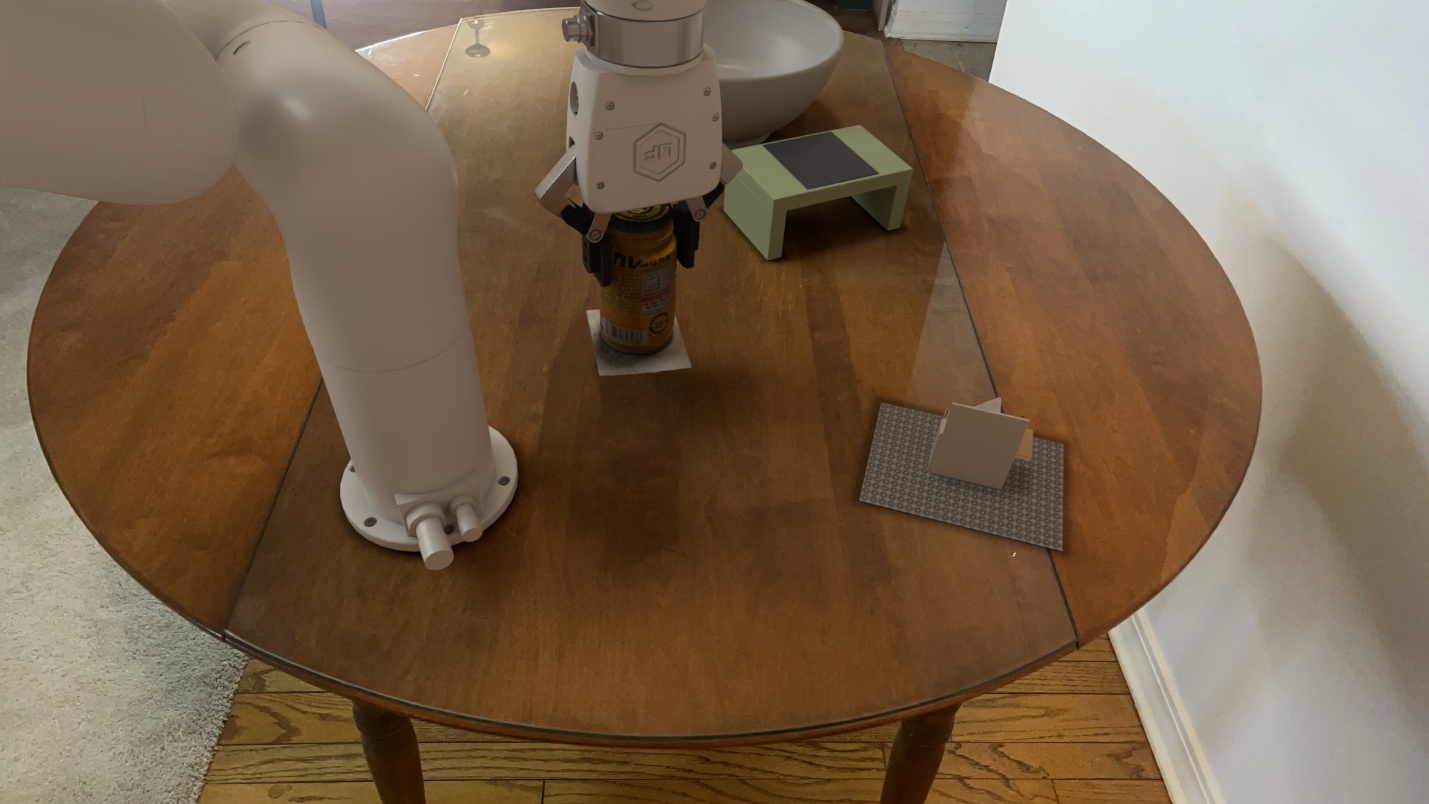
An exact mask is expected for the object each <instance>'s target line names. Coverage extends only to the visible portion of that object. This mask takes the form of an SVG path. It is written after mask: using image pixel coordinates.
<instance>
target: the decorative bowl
mask: <svg viewBox="0 0 1429 804" xmlns="http://www.w3.org/2000/svg"><path fill="white" fill-rule="evenodd" d="M845 41H846V38H845V33H844V30H843V28H842V26H841V24H839V22H838V21H837V20H836V19H835V18H834V17H833V16H832V15H831V14H830V13H828V12H827V11H825V10H823V9H822V8H820V7H818V6H817V5H815V4H812V3H811V2H808V1H807V0H706V10H705V28H704V43H705V44H706V45H708V46H709V47H711V48H712V49H713V50H714V52H715V56H716V62H717V69H718V77H719V87H720V98H721V115H722V142H723V143H724V144H725V145H726V146H727V147H728V148H729V149H730V150H735V149H740V148H745V147H750V146H755V145H760V144H763V142H765V141H767V139H768V138H769V137H770V135H771V134H772V133H774V132H776V131H778V130H780V129H782V128H784V127H785V126H787V125H788V124H790V123H791V122H793V121H794V120H795V119H797V118H798V117H799V116H800V115H801V114H802V113H804V112H805V111H806V110H807V109H808V108H809V107H810V106H811V105H812V103H814V101H815V100H816V99H817V97H819V96H820V94H821V92H822V91H823V90H824V88H825V87H826V85H827V83H828V82H829V80H830V79H831V78H832V75H833V74H834V72H835V69H836V67H837V65H838V63H839V61H840V59H841V56H842V53H843V51H844V47H845V44H846V43H845Z"/></svg>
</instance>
